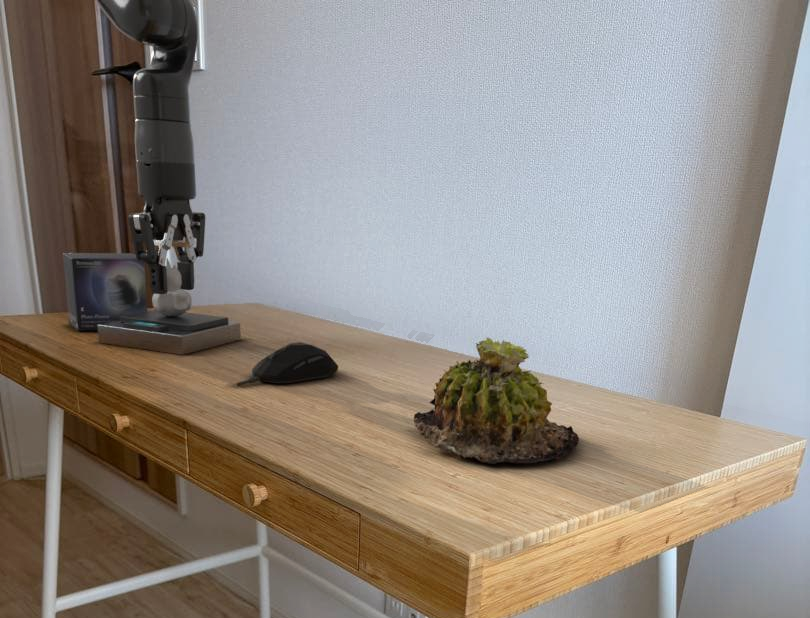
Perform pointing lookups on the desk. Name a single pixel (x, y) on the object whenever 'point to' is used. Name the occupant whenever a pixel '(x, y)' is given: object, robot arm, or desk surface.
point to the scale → (166, 336)
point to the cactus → (494, 411)
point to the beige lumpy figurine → (172, 295)
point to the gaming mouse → (293, 365)
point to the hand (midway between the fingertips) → (173, 291)
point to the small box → (103, 288)
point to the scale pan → (177, 320)
